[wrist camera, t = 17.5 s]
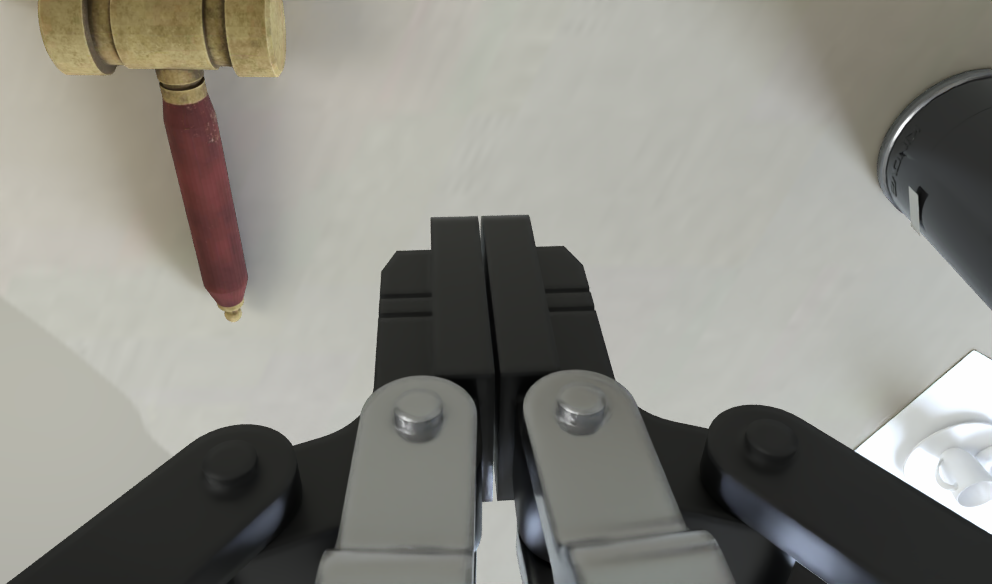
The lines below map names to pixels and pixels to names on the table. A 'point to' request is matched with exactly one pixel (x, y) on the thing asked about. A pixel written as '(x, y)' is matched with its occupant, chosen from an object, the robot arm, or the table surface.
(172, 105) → the gavel
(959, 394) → the teacup and saucer
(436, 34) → the table surface
